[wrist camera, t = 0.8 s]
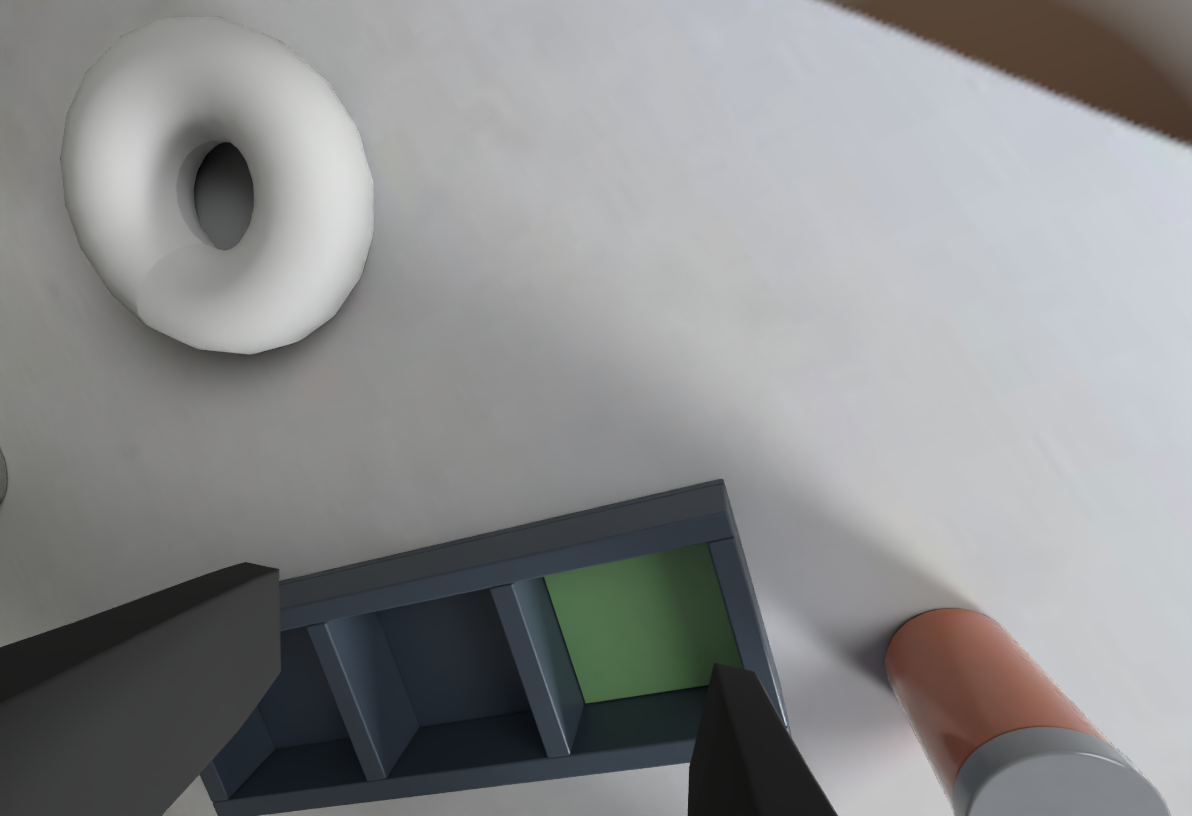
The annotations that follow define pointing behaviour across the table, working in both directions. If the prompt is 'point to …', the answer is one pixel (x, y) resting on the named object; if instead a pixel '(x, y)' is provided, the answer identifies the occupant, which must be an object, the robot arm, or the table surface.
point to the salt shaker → (1005, 726)
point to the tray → (502, 659)
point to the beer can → (2, 477)
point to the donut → (168, 172)
